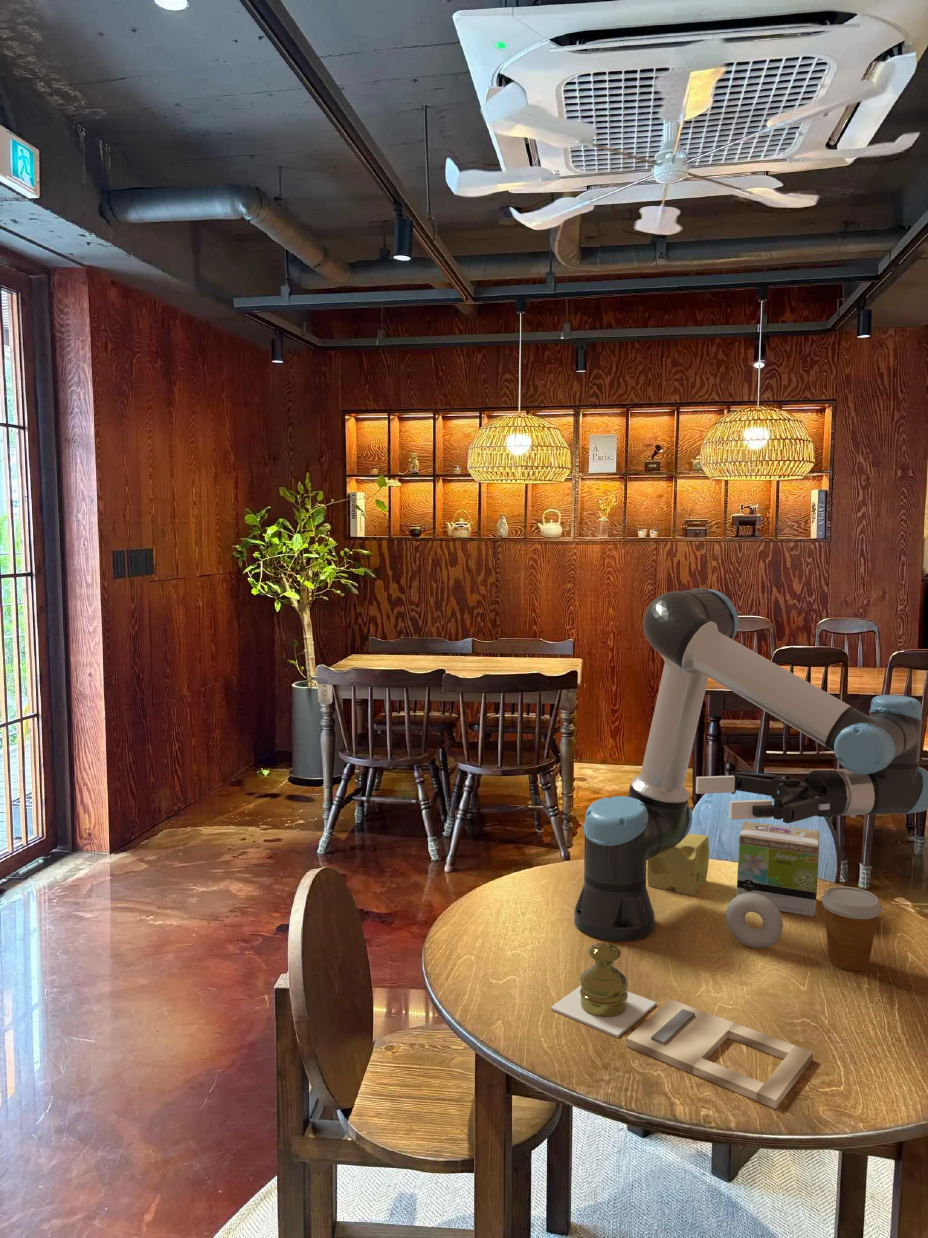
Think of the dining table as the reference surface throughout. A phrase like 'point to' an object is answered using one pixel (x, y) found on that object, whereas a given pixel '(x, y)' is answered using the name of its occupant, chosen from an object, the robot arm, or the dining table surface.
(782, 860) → the tea box
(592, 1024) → the mat
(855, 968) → the disposable coffee cup
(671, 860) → the cheese
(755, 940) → the donut
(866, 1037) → the dining table surface
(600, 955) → the brass bell weight
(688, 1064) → the light wooden flat frame
